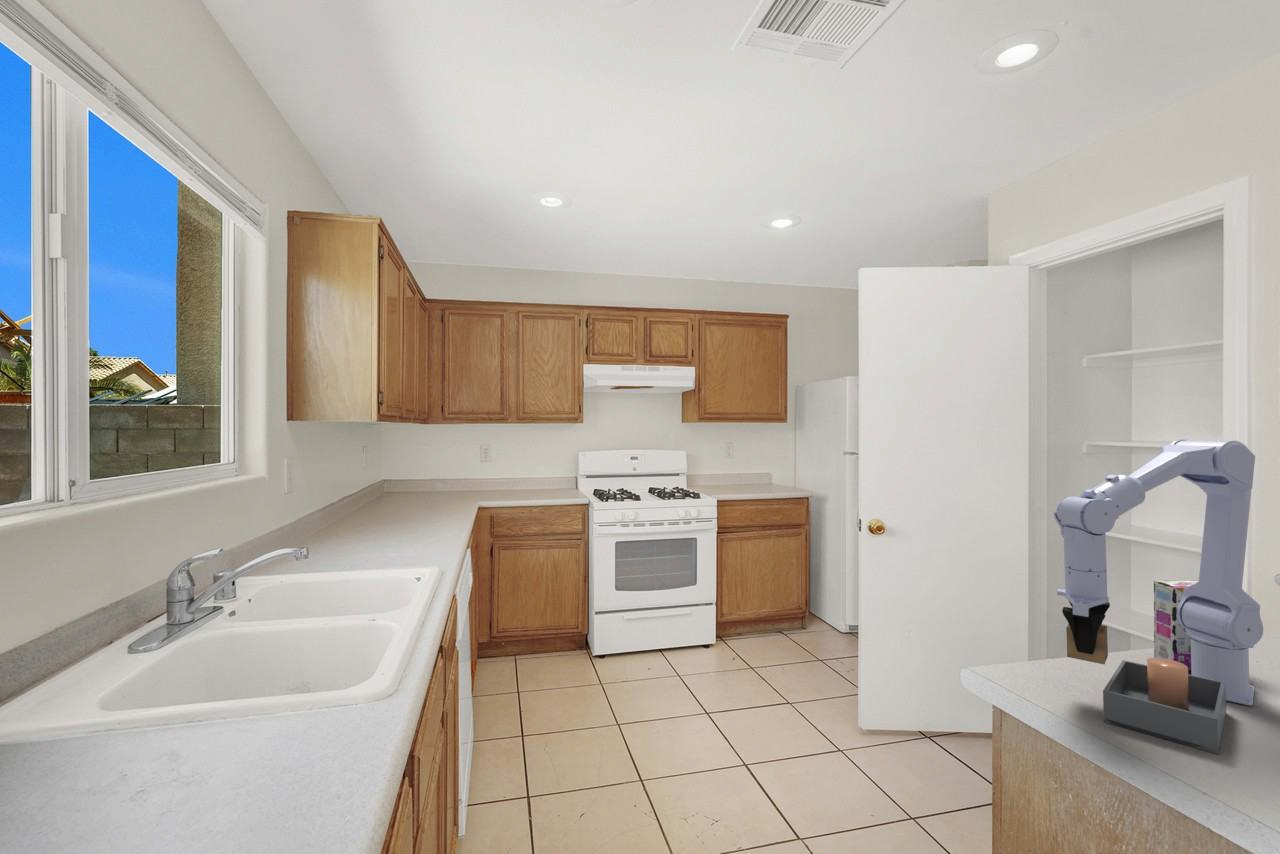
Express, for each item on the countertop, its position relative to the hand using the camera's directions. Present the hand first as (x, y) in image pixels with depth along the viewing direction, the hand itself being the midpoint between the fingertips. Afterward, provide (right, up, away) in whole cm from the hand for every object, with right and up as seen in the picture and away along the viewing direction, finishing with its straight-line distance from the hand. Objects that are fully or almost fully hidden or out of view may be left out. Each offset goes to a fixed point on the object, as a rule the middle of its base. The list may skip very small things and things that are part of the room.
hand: (1087, 647), depth 99 cm
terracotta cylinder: (+11, -9, -3) cm, 14 cm away
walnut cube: (0, -1, 0) cm, 1 cm away
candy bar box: (+30, -9, +12) cm, 33 cm away
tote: (+8, -9, -6) cm, 14 cm away
